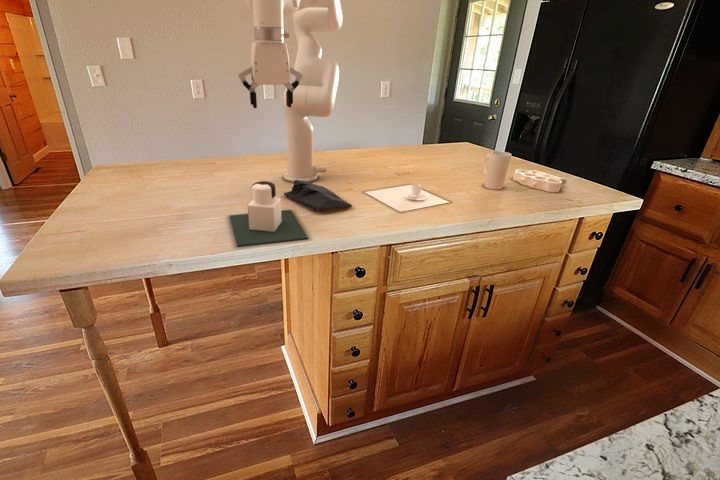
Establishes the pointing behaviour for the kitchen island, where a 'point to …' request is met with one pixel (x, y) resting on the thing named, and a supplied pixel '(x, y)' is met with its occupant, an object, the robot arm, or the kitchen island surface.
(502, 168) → the mug
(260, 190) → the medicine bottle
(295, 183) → the black fabric pouch
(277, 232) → the mat
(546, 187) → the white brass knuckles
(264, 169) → the kitchen island surface
